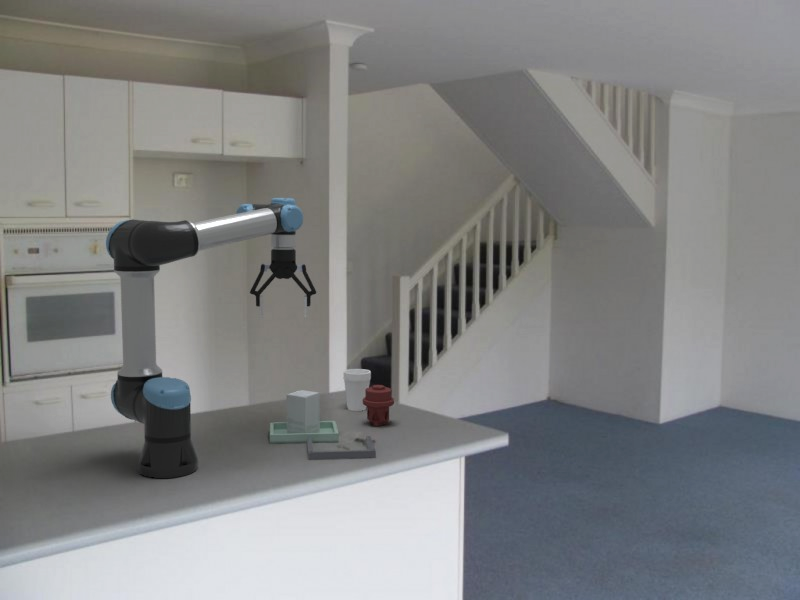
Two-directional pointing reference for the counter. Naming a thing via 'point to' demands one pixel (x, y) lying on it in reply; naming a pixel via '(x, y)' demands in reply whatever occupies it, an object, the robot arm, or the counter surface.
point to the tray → (280, 433)
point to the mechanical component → (378, 404)
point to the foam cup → (356, 387)
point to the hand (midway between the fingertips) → (283, 317)
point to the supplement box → (303, 412)
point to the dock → (342, 452)
